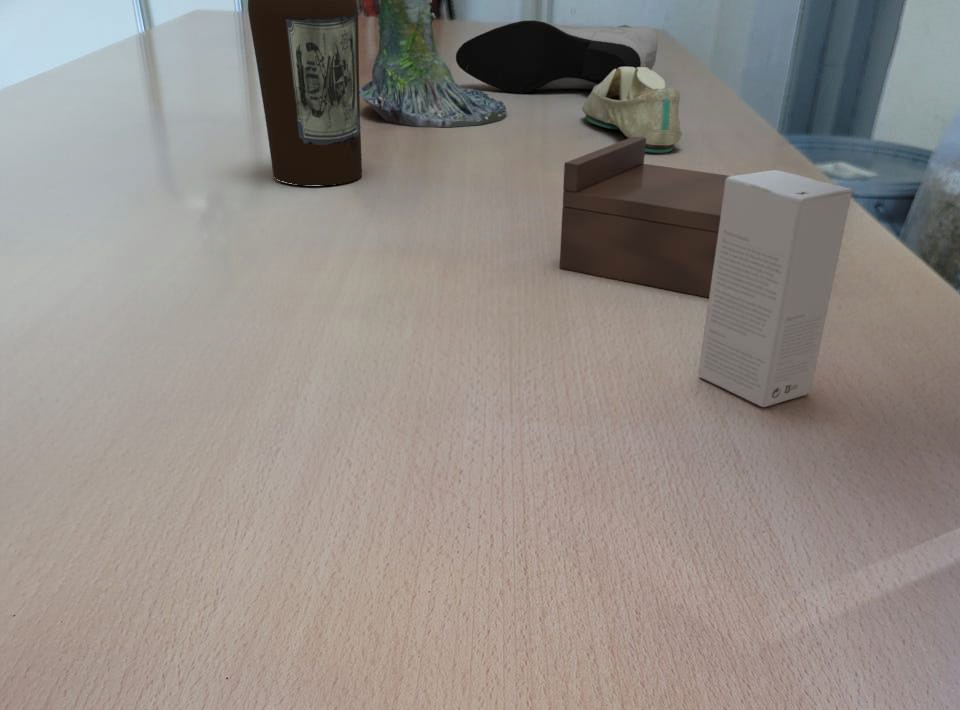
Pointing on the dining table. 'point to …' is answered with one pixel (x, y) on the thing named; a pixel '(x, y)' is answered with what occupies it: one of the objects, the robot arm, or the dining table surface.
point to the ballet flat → (637, 107)
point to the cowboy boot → (554, 55)
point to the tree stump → (420, 74)
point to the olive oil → (309, 87)
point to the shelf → (640, 219)
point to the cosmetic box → (772, 284)
